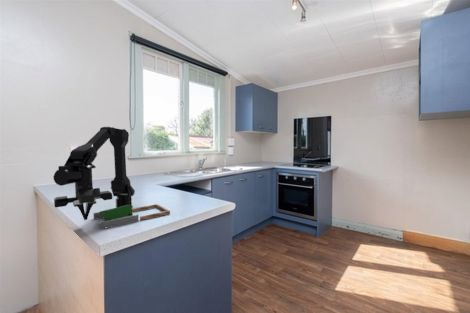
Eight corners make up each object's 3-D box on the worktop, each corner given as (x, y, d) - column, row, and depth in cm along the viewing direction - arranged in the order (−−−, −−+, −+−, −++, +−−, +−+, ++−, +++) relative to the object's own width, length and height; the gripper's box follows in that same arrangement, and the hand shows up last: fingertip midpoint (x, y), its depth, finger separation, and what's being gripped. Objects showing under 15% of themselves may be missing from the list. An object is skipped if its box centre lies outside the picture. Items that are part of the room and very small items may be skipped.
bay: (157, 206, 116) (157, 204, 116) (169, 213, 104) (169, 210, 104) (130, 211, 107) (130, 208, 107) (140, 220, 95) (140, 216, 95)
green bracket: (123, 226, 100) (127, 206, 104) (130, 226, 97) (134, 205, 100) (94, 223, 91) (100, 201, 95) (101, 222, 88) (107, 199, 92)
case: (128, 212, 107) (127, 207, 107) (138, 220, 95) (138, 214, 95) (93, 218, 98) (93, 213, 98) (100, 229, 86) (100, 222, 86)
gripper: (54, 186, 76) (56, 231, 77) (114, 180, 88) (116, 219, 89) (53, 182, 85) (55, 223, 86) (108, 177, 97) (110, 213, 98)
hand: (85, 219), depth 89 cm, fingers closed
